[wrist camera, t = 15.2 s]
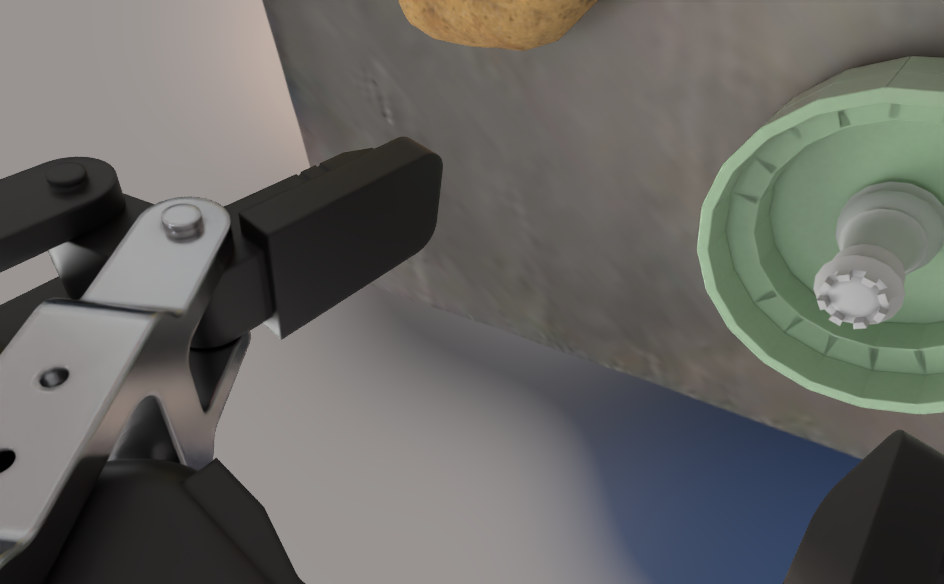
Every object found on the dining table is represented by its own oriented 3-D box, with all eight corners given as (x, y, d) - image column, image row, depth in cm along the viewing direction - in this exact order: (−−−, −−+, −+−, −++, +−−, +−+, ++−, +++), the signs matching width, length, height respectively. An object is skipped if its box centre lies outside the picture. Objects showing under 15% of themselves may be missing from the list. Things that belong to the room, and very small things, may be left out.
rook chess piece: (951, 174, 28) (917, 252, 23) (951, 264, 29) (920, 356, 24) (837, 180, 31) (786, 251, 26) (843, 262, 32) (796, 343, 27)
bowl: (829, 1, 28) (791, 27, 25) (1246, 150, 22) (1272, 211, 19) (695, 255, 38) (655, 297, 35) (955, 400, 33) (937, 469, 29)
